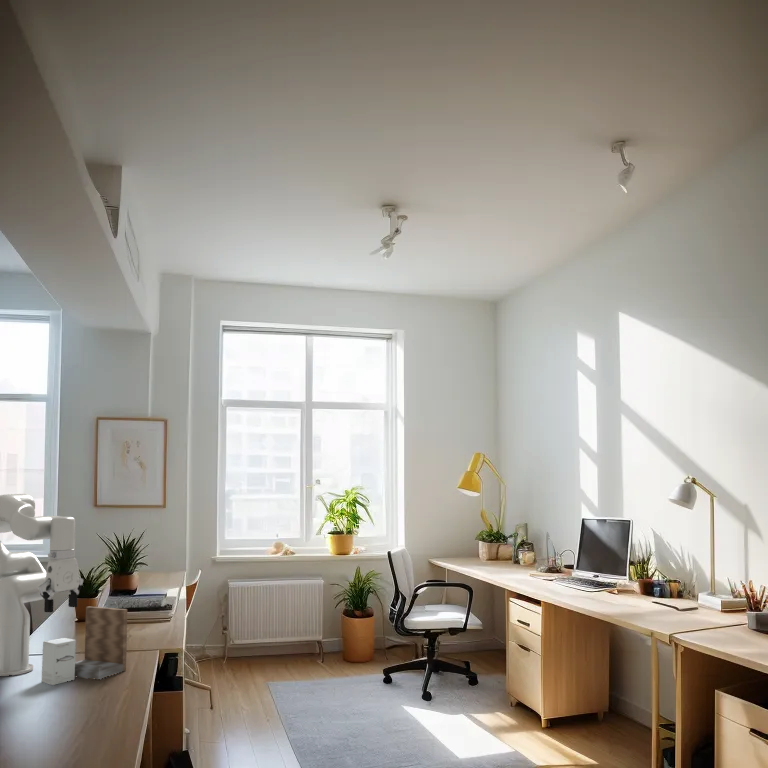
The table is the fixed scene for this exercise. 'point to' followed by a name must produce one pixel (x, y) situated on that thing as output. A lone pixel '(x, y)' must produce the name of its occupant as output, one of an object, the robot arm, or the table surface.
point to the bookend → (104, 643)
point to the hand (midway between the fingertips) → (60, 609)
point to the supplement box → (58, 661)
